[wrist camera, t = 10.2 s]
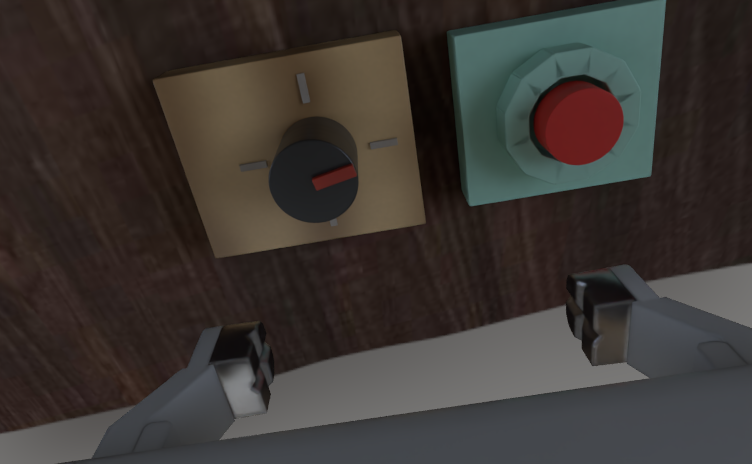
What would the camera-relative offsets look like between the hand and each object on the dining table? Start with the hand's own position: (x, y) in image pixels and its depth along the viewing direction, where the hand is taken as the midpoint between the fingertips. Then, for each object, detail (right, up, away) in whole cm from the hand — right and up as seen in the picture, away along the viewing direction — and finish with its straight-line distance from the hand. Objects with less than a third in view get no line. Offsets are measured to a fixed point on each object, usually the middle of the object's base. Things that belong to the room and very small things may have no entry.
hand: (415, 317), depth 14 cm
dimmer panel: (-5, +7, +15) cm, 17 cm away
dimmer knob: (-4, +6, +13) cm, 15 cm away
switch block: (+8, +9, +15) cm, 19 cm away
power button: (+8, +8, +11) cm, 16 cm away
